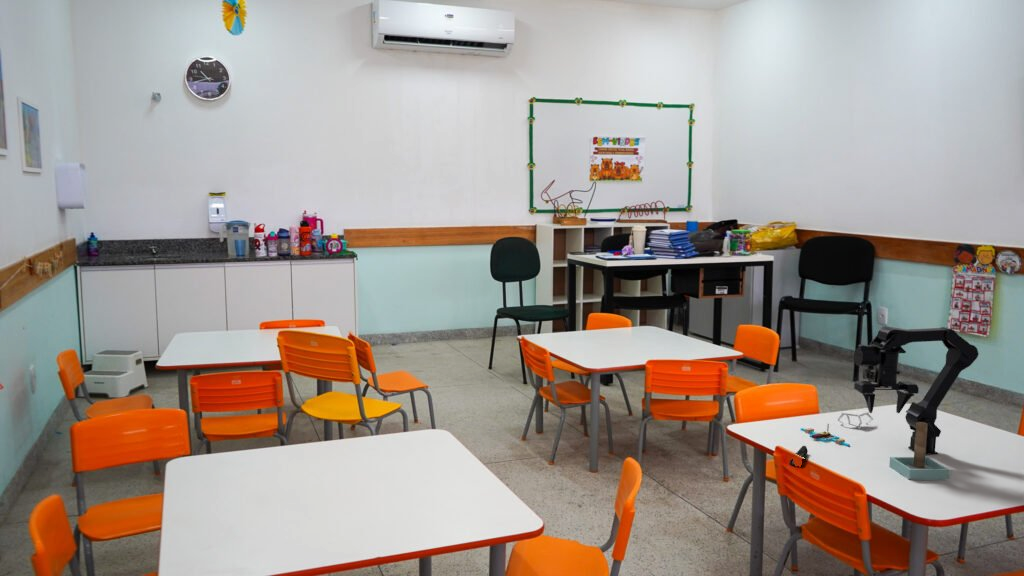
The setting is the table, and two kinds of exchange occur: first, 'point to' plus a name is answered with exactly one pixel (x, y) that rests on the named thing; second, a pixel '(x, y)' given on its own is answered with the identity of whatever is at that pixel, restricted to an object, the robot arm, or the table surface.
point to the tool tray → (919, 474)
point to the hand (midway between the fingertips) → (884, 412)
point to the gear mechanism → (825, 436)
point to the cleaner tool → (920, 447)
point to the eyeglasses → (855, 413)
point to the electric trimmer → (800, 454)
